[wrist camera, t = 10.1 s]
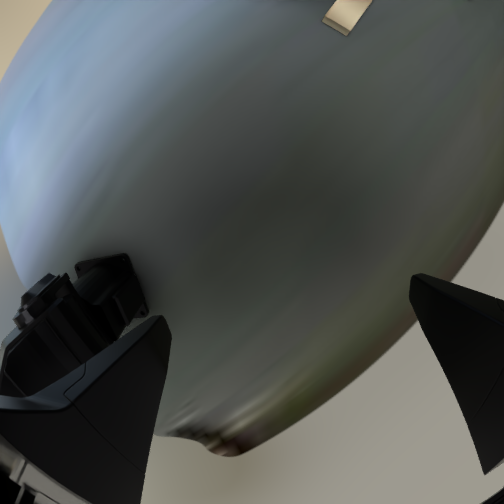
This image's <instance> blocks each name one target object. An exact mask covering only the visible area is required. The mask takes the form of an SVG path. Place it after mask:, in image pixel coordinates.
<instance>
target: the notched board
mask: <svg viewBox="0 0 504 504" xmlns="http://www.w3.org/2000/svg"><path fill="white" fill-rule="evenodd" d="M371 2H372V0H337V1H336V2H335V3H334V4H333V6H332V7H331V8H330V10H329V11H328V12H327V14H326V15H325V16H324V18H323V20H322V22H323V23H325V24H327V25H329V26H330V27H332V28H334V29H335V30H337V31H339V32H340V33H342V34H344V35H345V36H347V35H348V33H349V32H350V31H351V30H352V28H353V27H354V26H355V24H356V23H357V21H358V20H359V18H360V17H361V16H362V14H363V13H364V11H365V10H366V8H367V7H368V6H369V4H370V3H371Z"/></svg>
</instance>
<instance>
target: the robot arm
mask: <svg viewBox="0 0 504 504" xmlns="http://www.w3.org/2000/svg"><path fill="white" fill-rule="evenodd" d="M122 258H124V260H125V261H123V260H122ZM79 267H80V269H79ZM75 271H76V273H77V276H78V278H79V279H78V280H76V281H75V282H74V283H73V284H72V283H71V281H70V280H69V279H70V278H69V276H68V274H67V273H65V274H63V275H62V276H60V275H58V276H54V275H52V274H50V273H49V274H47V275H46V276H45V277H43V278H42V279H41V280H40V281H38V282H37V283H36V284H35V285H34V286H32V287H31V288H30V289H29V290H28V291H27V292H26V293H25V294H24V295H23V296H22V297H21V306H20V308H19V309H18V312H17V313H16V315H15V316H14V318H13V321H14V322H15V324H16V325H17V327H16V328H15V329H14V330H13V331H12V332H11V333H10V334H9V335H8V336H7V337H6V338H5V339H4V340H3V341H2V344H1V349H0V504H140V503H141V496H142V490H143V485H144V479H145V472H146V467H147V462H148V456H149V451H150V446H151V441H152V437H153V432H154V427H155V423H156V418H157V414H158V409H159V405H160V400H161V396H162V392H163V388H164V384H165V380H166V375H167V370H168V363H169V355H170V348H171V341H172V335H171V332H170V329H169V327H168V325H167V322H166V320H165V318H164V316H162V315H157V316H152V317H150V318H149V319H147V320H146V321H144V322H143V323H141V324H140V325H139V326H137V327H136V328H134V329H133V330H131V331H130V332H128V333H127V334H126V335H124V336H123V337H121V338H120V339H118V338H119V337H120V335H121V333H122V332H123V330H124V328H125V327H126V326H129V324H130V323H131V321H132V319H133V318H143V317H146V316H147V315H148V313H149V311H148V308H147V306H146V303H145V301H144V300H145V298H144V296H143V293H142V290H141V288H140V285H139V282H138V280H137V277H136V276H135V274H134V271H133V269H132V266H131V263H130V260H129V257H128V256H127V255H126V254H117V255H112V256H107V257H102V258H97V259H93V260H88V261H83V262H78V263H77V264H76V265H75ZM409 300H410V303H411V305H412V307H413V309H414V311H415V314H416V316H417V318H418V321H419V323H420V325H421V328H422V330H423V332H424V334H425V336H426V338H427V340H428V342H429V344H430V345H431V347H432V349H433V351H434V353H435V355H436V357H437V359H438V361H439V363H440V365H441V367H442V369H443V371H444V373H445V375H446V377H447V379H448V381H449V383H450V385H451V388H452V390H453V392H454V394H455V397H456V399H457V401H458V403H459V406H460V408H461V411H462V413H463V416H464V418H465V421H466V423H467V425H468V429H469V431H470V434H471V437H472V439H473V442H474V445H475V448H476V451H477V454H478V457H479V460H480V464H481V466H482V470H483V473H484V475H486V474H487V473H489V472H491V471H492V470H493V469H495V468H496V467H498V466H499V465H501V464H502V463H503V462H504V300H501V299H498V298H495V297H492V296H489V295H486V294H484V293H481V292H478V291H475V290H472V289H469V288H466V287H463V286H460V285H457V284H454V283H451V282H448V281H445V280H442V279H438V278H435V277H432V276H429V275H426V274H423V273H420V274H415V275H413V276H412V277H411V281H410V291H409ZM142 311H144V312H145V313H143V312H142ZM113 341H115V342H113ZM481 504H504V487H503V488H502V489H501V490H500V491H498V492H497V493H495V494H494V495H492V496H491V497H490V498H488V499H487V500H485V501H483V502H482V503H481Z"/></svg>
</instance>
